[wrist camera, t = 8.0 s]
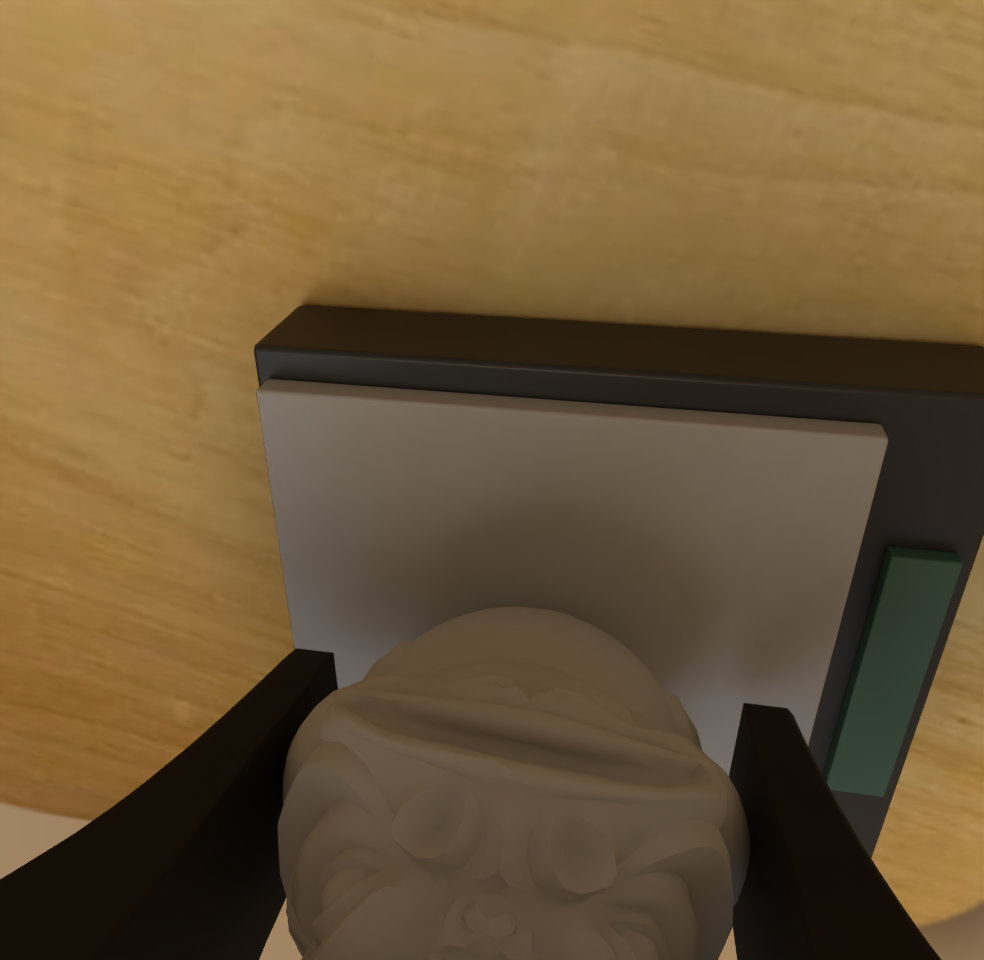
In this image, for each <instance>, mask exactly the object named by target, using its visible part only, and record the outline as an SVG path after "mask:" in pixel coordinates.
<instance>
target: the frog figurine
mask: <svg viewBox="0 0 984 960" xmlns="http://www.w3.org/2000/svg"><path fill="white" fill-rule="evenodd" d="M283 804H284V805H283V809H282V812H281V815H280V818H279V821H278V846H279V866H280V876H281V879H282V883H283V887H284V890H285V894H286V897H287V910H286V913H287V916H288V925H289V932H290V934H291V936H292V938H293V940H294V941H295V943H296V945H297V948H298V950H299V952H300V953H301V955H302V957H303V958H302V960H718V958H719V956H720V954H721V952H722V949H723V947H724V945H725V943H726V940H727V938H728V936H729V933H730V931H731V929H732V927H733V907H734V905H735V904H736V903H737V901H738V898H739V895H740V893H741V890H742V887H743V885H744V882H745V878H746V873H747V868H748V862H749V857H750V836H749V829H748V823H747V818H746V815H745V812H744V809H743V806H742V803H741V800H740V797H739V794H738V792H737V790H736V788H735V787H734V785H733V783H732V782H731V780H730V778H729V776H728V775H727V773H726V772H725V771H724V770H723V769H722V768H721V767H720V766H719V765H718V764H717V763H715V762H713V761H712V760H711V759H710V758H709V757H708V756H707V755H706V754H705V753H704V752H703V751H702V747H701V743H700V739H699V735H698V731H697V729H696V727H695V725H694V724H693V722H692V721H691V719H690V718H689V716H688V714H687V713H686V711H685V710H684V708H683V706H682V704H681V703H680V701H679V699H678V697H677V696H676V695H673V694H670V693H667V692H666V691H665V690H664V688H663V687H662V686H661V685H660V683H659V682H658V681H657V679H656V678H655V676H654V675H653V674H652V673H651V672H650V671H649V669H648V668H647V667H646V666H645V665H644V664H643V663H642V662H641V661H640V659H639V658H638V657H637V656H636V655H635V654H634V653H633V652H632V651H630V650H629V649H628V648H627V647H625V646H624V645H623V644H621V643H620V642H619V641H618V640H616V639H615V638H614V637H612V636H611V635H609V634H607V633H606V632H604V631H602V630H601V629H599V628H597V627H595V626H593V625H591V624H590V623H587V622H585V621H582V620H580V619H577V618H575V617H572V616H570V615H568V614H565V613H561V612H557V611H552V610H548V609H539V608H529V607H520V606H512V607H497V608H489V609H484V610H480V611H475V612H471V613H468V614H465V615H462V616H459V617H456V618H454V619H451V620H449V621H447V622H444V623H442V624H440V625H438V626H436V627H435V628H433V629H431V630H430V631H428V632H426V633H424V634H423V635H421V636H419V637H418V638H416V639H415V640H413V641H399V642H398V644H397V645H396V646H395V647H394V648H393V649H392V650H391V651H390V652H389V653H387V654H386V655H384V656H383V657H382V658H380V659H379V660H378V661H376V662H375V663H374V664H373V665H372V667H371V668H370V670H369V671H368V673H367V674H366V675H365V677H364V678H363V680H362V681H359V682H356V683H354V684H351V685H350V686H346V687H342V688H340V689H338V690H335V691H333V692H332V693H331V694H330V695H328V696H327V697H326V698H325V699H323V700H322V701H321V702H320V703H319V704H317V705H316V706H315V708H314V709H313V710H312V712H311V713H310V714H309V715H308V717H307V718H306V719H305V721H304V722H303V723H302V724H301V726H300V728H299V730H298V731H297V733H296V735H295V737H294V739H293V740H292V742H291V745H290V748H289V751H288V754H287V758H286V764H285V770H284V775H283Z"/></svg>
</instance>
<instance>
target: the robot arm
mask: <svg viewBox="0 0 984 960" xmlns="http://www.w3.org/2000/svg"><path fill="white" fill-rule="evenodd" d="M335 690H338V685H337V677H336V668H335V660H334V653H332V652H324V651H315V650H307V649H299V648H296V649H295V650H294V651H292V652H291V653H290V654H289V655H288V656H287V657H286V658H285V659H283V660H282V661H281V662H280V663H279V664H278V665H277V666H276V667H275V668H274V669H273V670H272V671H271V672H270V673H269V674H268V675H267V676H265V677H264V678H263V679H262V680H261V681H260V682H259V683H258V684H257V685H256V686H255V687H254V688H253V689H252V690H251V691H250V692H249V693H247V694H246V695H245V696H244V697H243V698H242V699H241V700H240V701H239V702H238V703H237V704H236V705H235V706H233V707H232V708H231V709H230V710H229V711H228V712H227V713H226V714H225V715H224V716H222V717H221V718H220V719H219V720H218V721H217V722H216V723H215V724H213V725H212V726H211V727H210V728H209V729H208V730H207V731H206V732H204V733H203V734H202V735H201V736H200V737H199V738H198V739H197V740H196V741H194V742H193V743H192V744H191V745H190V746H189V747H187V748H186V749H185V750H184V751H183V752H181V753H180V754H179V755H178V756H177V757H175V758H174V759H173V760H172V761H170V762H169V763H168V764H167V765H165V766H164V767H163V768H162V769H161V770H159V771H158V772H157V773H156V774H154V775H153V776H152V777H151V778H150V779H148V780H147V781H146V782H145V783H143V784H142V785H141V786H140V787H138V788H137V789H136V790H134V791H133V792H132V793H130V794H129V795H128V796H126V797H125V798H124V799H122V800H121V801H120V802H118V803H117V804H116V805H114V806H113V807H112V808H110V809H109V810H107V811H106V812H105V813H103V814H102V815H100V816H99V817H97V818H96V819H95V820H93V821H92V822H90V823H89V824H88V825H86V826H85V827H83V828H82V829H80V830H79V831H77V832H76V833H75V834H73V835H71V836H70V837H68V838H67V839H65V840H64V841H62V842H60V843H59V844H57V845H56V846H54V847H52V848H51V849H49V850H47V851H46V852H44V853H43V854H41V855H40V856H38V857H36V858H34V859H33V860H31V861H30V862H28V863H26V864H25V865H23V866H21V867H20V868H18V869H17V870H15V871H13V872H12V873H11V874H8V875H7V876H5V877H4V878H2V879H0V960H259V958H260V956H261V953H262V951H263V948H264V946H265V944H266V941H267V939H268V937H269V934H270V932H271V930H272V928H273V926H274V924H275V921H276V919H277V917H278V914H279V912H280V910H281V908H282V905H283V904H284V901H285V899H286V894H285V890H284V887H283V883H282V879H281V876H280V866H279V846H278V821H279V818H280V815H281V812H282V809H283V805H284V804H283V775H284V770H285V764H286V758H287V754H288V751H289V748H290V745H291V742H292V740H293V739H294V737H295V735H296V733H297V731H298V730H299V728H300V726H301V724H302V723H303V722H304V721H305V719H306V718H307V717H308V715H309V714H310V713H311V712H312V710H313V709H314V708H315V706H316V705H317V704H319V703H320V702H321V701H322V700H323V699H325V698H326V697H327V696H328V695H330V694H331V693H332V692H333V691H335ZM729 778H730V780H731V782H732V783H733V785H734V787H735V788H736V790H737V792H738V794H739V797H740V800H741V803H742V806H743V809H744V812H745V815H746V818H747V823H748V829H749V836H750V857H749V862H748V868H747V873H746V878H745V882H744V885H743V887H742V890H741V893H740V895H739V898H738V901H737V903H736V904H735V905H734V907H733V930H734V938H735V946H736V953H737V960H941V959H940V957H939V956H938V955H937V953H936V952H935V951H934V949H933V948H932V947H931V946H930V944H929V943H928V941H927V940H926V939H925V937H924V936H923V935H922V933H921V932H920V930H919V929H918V928H917V926H916V925H915V923H914V922H913V921H912V919H911V918H910V916H909V915H908V913H907V912H906V911H905V909H904V908H903V906H902V905H901V903H900V902H899V900H898V899H897V897H896V896H895V894H894V893H893V891H892V890H891V888H890V887H889V885H888V884H887V882H886V881H885V879H884V878H883V876H882V875H881V873H880V872H879V870H878V869H877V867H876V866H875V864H874V862H873V861H872V859H871V858H870V856H869V854H868V853H867V851H866V850H865V848H864V846H863V845H862V843H861V841H860V840H859V838H858V836H857V835H856V833H855V831H854V830H853V828H852V826H851V824H850V823H849V821H848V819H847V818H846V816H845V814H844V813H843V811H842V809H841V808H840V806H839V804H838V802H837V800H836V799H835V797H834V795H833V793H832V791H831V790H830V788H829V786H828V784H827V782H826V780H825V778H824V777H823V775H822V773H821V771H820V769H819V767H818V765H817V763H816V761H815V759H814V757H813V755H812V753H811V751H810V749H809V747H808V745H807V743H806V741H805V739H804V737H803V735H802V733H801V731H800V728H799V726H798V724H797V722H796V719H795V717H794V715H793V714H792V713H791V712H790V711H789V709H788V708H782V707H774V706H766V705H758V704H750V703H743V708H742V713H741V718H740V723H739V728H738V733H737V738H736V743H735V748H734V753H733V758H732V763H731V768H730V772H729Z"/></svg>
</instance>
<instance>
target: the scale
mask: <svg viewBox="0 0 984 960" xmlns="http://www.w3.org/2000/svg"><path fill="white" fill-rule="evenodd" d="M254 355H255V361H256V368H257V375H258V382H259V389H258V390H257V392H256V394H257V401H258V408H259V414H260V421H261V428H262V435H263V441H264V448H265V455H266V461H267V468H268V475H269V481H270V488H271V495H272V501H273V508H274V515H275V522H276V528H277V535H278V542H279V548H280V555H281V562H282V568H283V575H284V582H285V589H286V595H287V602H288V609H289V615H290V622H291V629H292V635H293V642H294V649H296V648H299V649H307V650H315V651H324V652H332V653H334V660H335V668H336V677H337V685H338V689H340V688H342V687H346V686H350V685H351V684H354V683H356V682H359V681H362V680H363V678H364V677H365V675H366V674H367V673H368V671H369V670H370V668H371V667H372V665H373V664H374V663H375V662H376V661H378V660H379V659H380V658H382V657H383V656H384V655H386V654H387V653H389V652H390V651H391V650H392V649H393V648H394V647H395V646H396V645H397V644H398V642H399V641H413V640H415V639H416V638H418V637H419V636H421V635H423V634H424V633H426V632H428V631H430V630H431V629H433V628H435V627H436V626H438V625H440V624H442V623H444V622H447V621H449V620H451V619H454V618H456V617H459V616H462V615H465V614H468V613H471V612H475V611H480V610H484V609H489V608H497V607H512V606H520V607H529V608H539V609H548V610H552V611H557V612H561V613H565V614H568V615H570V616H572V617H575V618H577V619H580V620H582V621H585V622H587V623H590V624H591V625H593V626H595V627H597V628H599V629H601V630H602V631H604V632H606V633H607V634H609V635H611V636H612V637H614V638H615V639H616V640H618V641H619V642H620V643H621V644H623V645H624V646H625V647H627V648H628V649H629V650H630V651H632V652H633V653H634V654H635V655H636V656H637V657H638V658H639V659H640V661H641V662H642V663H643V664H644V665H645V666H646V667H647V668H648V669H649V671H650V672H651V673H652V674H653V675H654V676H655V678H656V679H657V681H658V682H659V683H660V685H661V686H662V687H663V688H664V690H665V691H666V692H667V693H670V694H673V695H676V696H677V697H678V699H679V701H680V703H681V704H682V706H683V708H684V710H685V711H686V713H687V714H688V716H689V718H690V719H691V721H692V722H693V724H694V725H695V727H696V729H697V731H698V735H699V739H700V743H701V747H702V751H703V752H704V753H705V754H706V755H707V756H708V757H709V758H710V759H711V760H712V761H713V762H715V763H717V764H718V765H719V766H720V767H721V768H722V769H723V770H724V771H725V772H726V773H727V775H728V776H729V772H730V768H731V763H732V758H733V753H734V748H735V743H736V738H737V733H738V728H739V723H740V718H741V713H742V708H743V703H750V704H758V705H766V706H774V707H782V708H788V709H789V711H790V712H791V713H792V714H793V715H794V717H795V719H796V722H797V724H798V726H799V728H800V731H801V733H802V735H803V737H804V739H805V741H806V743H807V745H808V747H809V749H810V751H811V753H812V755H813V757H814V759H815V761H816V763H817V765H818V767H819V769H820V771H821V773H822V775H823V777H824V778H825V780H826V782H827V784H828V786H829V788H830V790H831V791H832V793H833V795H834V797H835V799H836V800H837V802H838V804H839V806H840V808H841V809H842V811H843V813H844V814H845V816H846V818H847V819H848V821H849V823H850V824H851V826H852V828H853V830H854V831H855V833H856V835H857V836H858V838H859V840H860V841H861V843H862V845H863V846H864V848H865V850H866V851H867V853H868V854H869V856H870V858H872V855H873V852H874V849H875V846H876V843H877V840H878V837H879V835H880V832H881V829H882V826H883V823H884V820H885V817H886V814H887V811H888V809H889V806H890V803H891V800H892V797H893V794H894V791H895V788H896V786H897V783H898V780H899V777H900V774H901V771H902V768H903V765H904V762H905V760H906V757H907V754H908V751H909V748H910V745H911V742H912V739H913V736H914V734H915V731H916V728H917V725H918V722H919V719H920V716H921V713H922V711H923V708H924V705H925V702H926V699H927V696H928V693H929V690H930V687H931V685H932V682H933V679H934V676H935V673H936V670H937V667H938V664H939V661H940V659H941V656H942V653H943V650H944V647H945V644H946V641H947V638H948V635H949V633H950V630H951V627H952V624H953V621H954V618H955V615H956V612H957V610H958V607H959V604H960V601H961V598H962V595H963V592H964V589H965V586H966V584H967V581H968V578H969V575H970V572H971V569H972V566H973V563H974V560H975V558H976V555H977V552H978V549H979V546H980V543H981V540H982V537H983V535H984V347H981V346H966V345H950V344H933V343H917V342H900V341H883V340H867V339H850V338H834V337H817V336H801V335H784V334H767V333H751V332H734V331H718V330H701V329H684V328H668V327H651V326H635V325H618V324H601V323H585V322H568V321H552V320H535V319H518V318H502V317H485V316H469V315H452V314H435V313H419V312H402V311H386V310H369V309H352V308H336V307H319V306H303V305H302V306H299V307H297V308H296V309H295V310H294V311H293V312H292V313H291V314H290V315H289V316H287V317H286V318H285V319H284V320H283V321H282V322H281V323H280V324H278V325H277V326H276V327H275V328H274V329H273V330H272V331H271V332H270V333H268V334H267V335H266V336H265V337H264V338H263V339H262V340H261V341H259V342H258V343H257V344H256V345H255V348H254Z"/></svg>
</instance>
